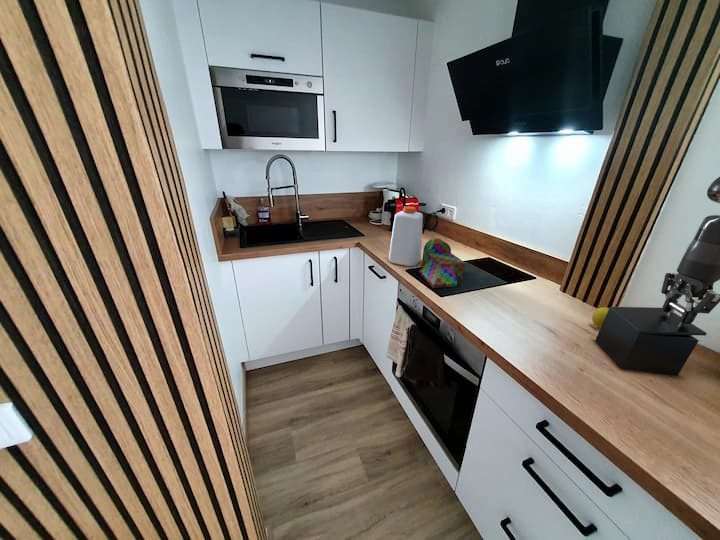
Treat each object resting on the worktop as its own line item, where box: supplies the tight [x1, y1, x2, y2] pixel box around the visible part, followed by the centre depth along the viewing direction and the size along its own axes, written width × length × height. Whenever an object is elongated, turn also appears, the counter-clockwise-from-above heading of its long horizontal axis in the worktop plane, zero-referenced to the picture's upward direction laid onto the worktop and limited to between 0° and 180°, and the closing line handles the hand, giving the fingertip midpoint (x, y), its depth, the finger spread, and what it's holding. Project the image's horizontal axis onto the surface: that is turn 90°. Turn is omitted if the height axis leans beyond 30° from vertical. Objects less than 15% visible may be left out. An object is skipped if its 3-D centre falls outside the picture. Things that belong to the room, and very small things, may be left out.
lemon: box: [591, 306, 610, 329], centre depth 96 cm, size 6×6×8 cm
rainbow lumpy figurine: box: [418, 237, 466, 289], centre depth 132 cm, size 25×17×14 cm
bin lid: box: [608, 301, 708, 337], centre depth 77 cm, size 14×13×5 cm
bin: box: [594, 309, 700, 377], centre depth 81 cm, size 14×13×12 cm
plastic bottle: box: [388, 206, 424, 267], centre depth 144 cm, size 15×15×28 cm
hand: (675, 316), depth 77 cm, fingers closed on bin lid, 5 cm apart
